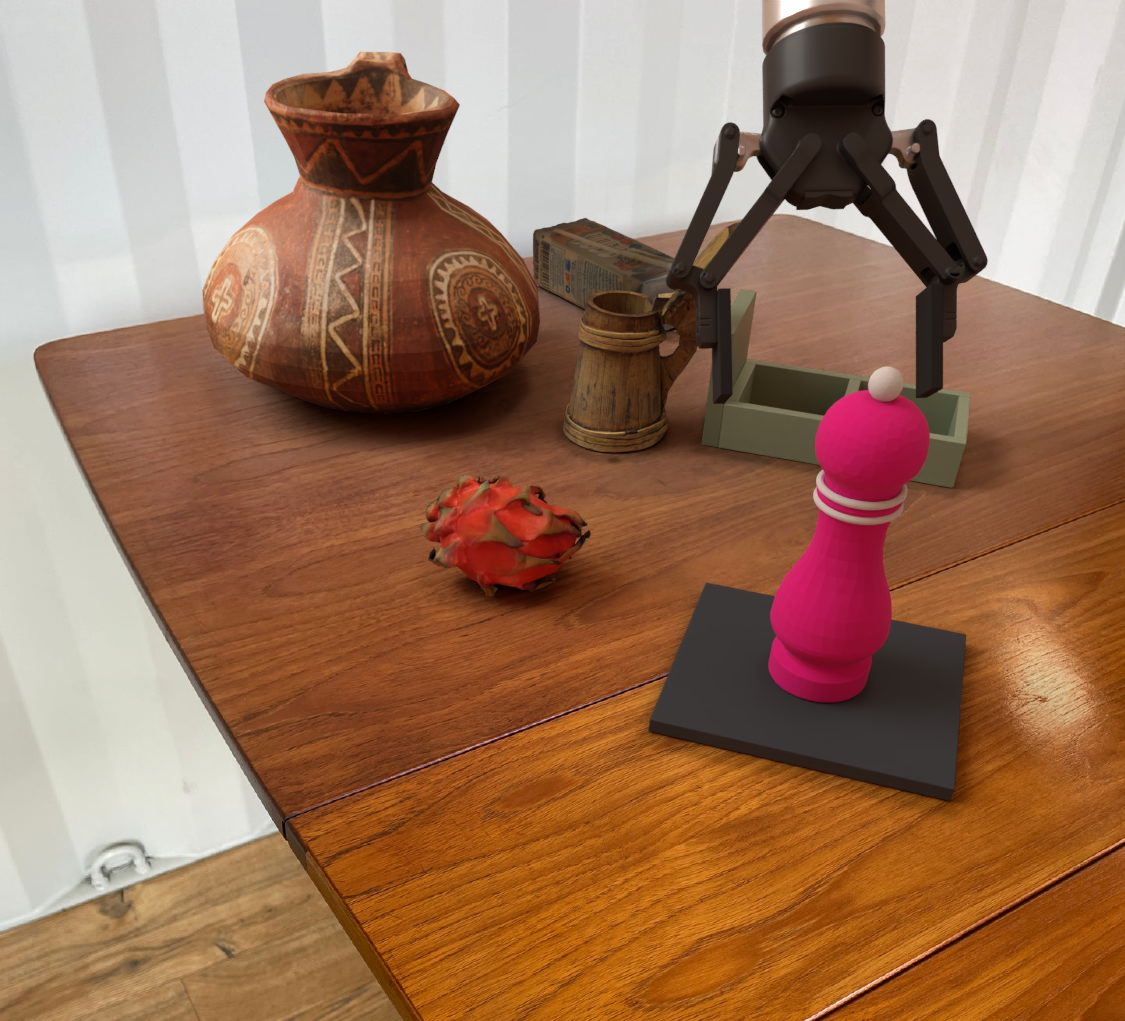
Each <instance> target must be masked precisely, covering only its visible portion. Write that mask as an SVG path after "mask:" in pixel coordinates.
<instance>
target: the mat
mask: <svg viewBox="0 0 1125 1021" xmlns="http://www.w3.org/2000/svg"><path fill="white" fill-rule="evenodd" d="M774 598H775V595H771V594H766V593H763V592H762V593H761V592H756V591H751V590H746V589H741V588H736V587H731V586H726V585H721V584H716V583H711V582H705V584H704V586H703V588H702V590H701V593H700V595H699V599H698V600H697V603H696V606H695V608H694V610H693V613H692V615H691V618H690V620H689V623H688V625H687V628H686V630H685V632H684V635H683V637H682V640H681V642H680V645H679V647H678V650H677V652H676V654H675V657H674V660H673V662H672V664H671V666H670V669H669V671H668V674H667V677H666V679H665V681H664V684H663V685H662V689H661V691H660V693H659V696H658V698H657V701H656V704H655V706H654V708H653V710H652V713H651V715H650V718H649V723H648V732H651V733H655V734H659V735H663V736H667V737H672V738H675V739H681V740H685V741H689V742H692V743H696V744H697V743H698V744H702V745H706V746H711V747H715V748H719V749H724V750H728V751H733V752H736V753H741V754H744V755H750V756H754V757H757V758H763V759H767V760H771V761H775V762H779V763H784V764H787V765H793V766H796V767H801V768H806V769H810V770H814V771H818V772H823V773H827V774H832V775H836V776H839V777H845V778H848V779H853V780H857V781H861V782H866V783H870V784H874V785H879V786H883V787H888V788H891V789H896V790H900V791H904V792H908V793H914V794H917V795H922V796H927V797H930V798H935V799H939V800H943V801H947V802H950V801H951V800H952V798H953V795H954V792H955V790H956V775H957V764H958V749H959V737H960V736H959V735H960V724H961V723H960V722H961V710H962V697H963V695H962V694H963V684H964V683H963V682H964V670H965V659H966V658H965V657H966V656H965V655H966V645H967V644H966V643H967V634H966V633H962V632H956V631H951V630H947V629H941V628H937V627H931V626H926V625H921V624H916V623H911V622H908V621H907V622H906V621H901V620H897V619H892V618H891V624H890V630H889V634H888V637H887V639H886V641H885V642H884V644H883V646H882V647H881V648H880V649H879V650H878V651H876V652H875V653H874V654H872V655H871V656H872V664H871V668H870V671H869V675H868V679H867V682H866V685H865V687H864V689H863V690H862V691H861V692H860V693H859V694H858V695H856V696H854V697H852V698H850V699H848V700H845V701H841V702H834V703H820V702H814V701H808V700H805V699H802V698H799V697H796V696H794V695H792V694H790V693H788V692H786V691H785V690H783V689H782V688H781V687H780V686H779V685H778V684H776V683H775V681H774V679H773V678H772V676H771V674H770V672H769V667H768V664H769V658H770V653H771V648H772V643H773V641H774V639H775V637H776V634H775V632H774V630H773V627H772V624H771V620H770V612H771V608H772V605H773V601H774Z"/></svg>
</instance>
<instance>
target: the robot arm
mask: <svg viewBox="0 0 1125 1021" xmlns="http://www.w3.org/2000/svg"><path fill="white" fill-rule="evenodd" d="M885 31H886V0H761V47H762V52H763V53H764V55H765V57H764V58H763V61H762V64H761V65H762V67H761V68H762V70H761V74H762V75H761V76H762V77H761V78H762V131H761V133H759V132H758V133H757V132H747V131H741V130H740V128H739V125H737V124H736V123H734V122H732V121H731V122H730V121H729V122H727V123H725V124H723V126H722V127H721V129H720V131H719V134H718V136H717V138H716V140H715V143H714V146H713V151H712V164H711V174H710V178H709V180H708V182H707V184H706V187H705V189H704V190H703V193H702V196H701V198H700V200H699V202H698V205H697V207H696V209H695V210H694V214H693V215H692V218H691V221H690V222H689V224H688V227H687V230H686V232H685V234H684V236H683V238H682V239H681V243H680V245H679V247H678V250H677V253H676V254H675V257H673V258H674V261H673V263H672V265H671V267H670V270H669V272H668V274H667V277H666V284H667V286H668V287H669V288H670V289H672V290H678V289H680V290H683V291H686V292H688V293H690V294H691V295H692V298H693V300H694V301H695V323H696V342H697V345H698V347H697V348H698V349H699V350H703V349H704V350H707V349H711V365H712V381H713V404H724V403H725V402H726V401H727V400H728V399H729V398H730V397H731V396H732V395H733V390H732V339H731V304H732V301H731V300H732V295H731V292H732V290H731V287H728V288H726V287H724V288H718V287H719V285H720V284H721V282H722V281H723V280H724V279H725V277H726V276H727V274H728V273H729V272H730V271H731V269H732V268H733V267H734V265H735V264H736V263H737V261H738V260H739V259H740V258H741V257H742V255H743V254H744V252H746V250H747V249H748V247H749V246H750V245H751V244H752V242H753V241H754V240H755V238H757V236H758V234H759V233H760V232H761V230H762V229H764V226H766V224H767V223H768V222H769V220H770V219H771V218H772V217H773V216H774V214H775V213H776V211H777V210H778V209H779V208H780V206H781V205H782V204H783V202H784V201H786V203H788V204H789V205H791V206H792V207H796V208H795V210H796V211H809V210H813V209H816V208H818V207H822V208H826V209H829V210H844V209H845V208H846V207H847V206H849V205H852V204H853V205H854V207H855V208H856V209H857V211H859V213H860V215H862V216H864V217H865V218H869V219H870V220H871V222H872V223H873V224H874V225H875V226H876V228H877V229H878V230H879V231H880V232H881V234H882V235H883V236H884V237H885V239H886V240H887V241H888V242H889V243H890V245H891V246H892V247H893V248H894V250H895V251H896V252H897V253H898V255H899V256H900V257H901V258H902V259H903V261H904V262H905V263H906V265H908V267H909V268H910V269H911V271H912V272H913V273H914V274H915V275H916V276H917V278H918V279H919V280H920V281H921V283H922V284H923V285H924V287H925V288H924V289H923V290H922V291H921V292H919V293H918V294H917V295H915V384H916V398H927V397H929V396H931V395H933V394H934V393H936V392H938V391H940V390H942V389H944V343H947V342H948V341H949V340H951V339H952V338H954V337H955V334H956V332H957V329H958V328H957V326H958V320H957V318H958V286H959V285H961V284H965V283H968V282H969V281H970V280H972V279H973V278H974V277H976V276H977V275H978V274H980V273H981V272H982V271H983V270H985V269H986V268H987V266H988V261H989V259H988V256H987V254H986V252H985V249H984V248H983V245H982V243H981V241H980V239H979V237H978V234H977V232H976V230H975V228H974V226H973V224H972V221H971V220H970V218H969V215H968V213H967V211H966V209H965V207H964V204H963V203H962V200H961V198H960V196H959V194H958V192H957V189H956V188H955V186H954V183H953V181H952V179H951V177H950V174H949V173H948V171H947V168H946V166H945V164H944V161H943V160H942V158H941V156H940V146H939V138H938V129H937V125H936V123H935V122H934V120H932V119H930V118H926V119H922V120H921V121H920V122H919V123H918V124H917V126H916V127H913V128H906V129H899V130H891V128H890V127H889V125H888V122H887V119H886V44H885V41H884V39H883V35H884V33H885ZM888 155H892V156H894V157H895V159H896V160H897V163H898V167H899V168H900V169H902V170H903V169H905V170H906V175H907V178H908V181H909V184H910V186H911V189H912V191H913V193H914V196H915V197H916V199H917V201H918V204H919V206H920V207H921V208H920V209H922V212H923V214H924V216H925V218H926V221H927V222H928V225H929V227H930V229H931V231H930V230H929V228H928V226H926V224H925V223H924V222H923V221H922V219H921V218H920V217H919V216H918V215H917V214H916V213H915V211H914V210H913V209H912V207H911V206H910V205H909V203H907V201H906V200H905V199H904V198H903V196H902V195H901V193H900V192H899V191H898V190H897V184H896V181H895V180H894V179H893V177H892V176H891V174H890V173H889V172H888V171H887V170H886V168H885V167H884V165H883V163H884V161H885V160H886V158H887V157H888ZM753 157H756V160H757V162H758V163H759V165H760V166H761V168H762V169H763V170H764V172H765V173H766V175H767V176H768V178H769V179H770V180H771V181H770V182H769V183H768V184H767V186H766V188H764V190H763V191H762V193H761V194H760V196H759V197H758V199H757V200H756V201H755V202H754V204H752V206H751V207H750V209H749V210H748V211H747V213H746V214H745V215H744V217H743V218H742V219H741V220H740V221H739V222H740V223H739V224H738V226H737V227H736V228H735V230H734V231H733V232H732V234H731V235H730V236H729V237H728V239H727V240H726V241H725V243H724V244H723V245H722V247H721V248H720V249H719V250H718V252H717V253H716V254H715V256H714V257H713V258H712V260H711V261H710V262H709V263H708V265H707V266H706V267H705V269H703V268H700V267H697V266H694V265H693V263H694V262H695V260H696V259H697V257H698V254H699V252H700V249H701V247H702V245H703V243H704V241H705V238H706V236H707V234H708V231H709V229H710V227H711V225H712V223H713V220H714V218H715V216H716V213H717V211H718V210H719V207H720V205H721V202H722V200H723V198H724V195H725V193H726V192H727V190H728V187H729V186H730V182H731V180H732V178H733V175H734V173H739V172H742V171H743V170H744V168H745V167H746V165H747V163H748V160H749V159H750V158H753Z"/></svg>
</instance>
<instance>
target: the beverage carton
mask: <svg viewBox="0 0 1125 1021" xmlns="http://www.w3.org/2000/svg"><path fill="white" fill-rule="evenodd" d="M532 257H533V258H532V265H533V279H534V281H535V283H536V285H537V286H539V287H541V288H542V289H544V290H547V291H548V292H550V293H553V294H554V295H555V296H558V297H561V298H563V299H564V300H566V301H569V302H570V303H572V304H574V305H575V306H577V307H579V308H581V309H583V310H585V307H586V302H587V299H588V297H589V296H590V295H593V294H595V293H598V292H602V291H608V290H621V291H631V292H637V293H640V294H644V295H646V296H648V297H650V298H651V299H652V300H654V298H655V296H656V295H657V294H666V293H674V292H675V291H676V290H672V289H670V288H669V287H668V286H667V284H666V277H667V274H668V272H669V270H670V267H671V265H672V263H673V261H674V258H675V257H673V256H671V255H669V254H667V253H665V252H662V251H660V250H658V249H657V248H654V247H652V246H649V245H647V244H645V243H643V242H641V241H639V240H636V239H635V238H632V237H630V236H627V235H625V234H623V233H621V232H618V231H616V230H614V229H612V228H609V227H608V226H605V225H603V224H601V223H598V222H596V220H591V219H588V217H583V218H580V219H577V220H574V221H569V222H560V223H557V224H555V225H552V226H548V227H542V228H537V229H534V231H533V232H532ZM663 326H664V329H665V332H666V331H669V330H671V329H675V328H674V327H673V326H671V325H663Z"/></svg>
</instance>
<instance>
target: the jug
mask: <svg viewBox="0 0 1125 1021" xmlns="http://www.w3.org/2000/svg"><path fill="white" fill-rule="evenodd" d="M263 103H264V104H265V105H266V108H267V110H268V112H269V113H270V115H271V116H272V118H273V120H274V123H275V124H276V126H277V128H278V130H279V131H280V133H281V135H282V137H283V138H284V140H285V142H286V144H287V146H288V148H289V150H290V152H291V154H292V156H293V158H294V161H295V164H296V168H297V171H298V174H299V176H298V178H297V181H296V183H295V186H294V188H293V190H292V191H291V192H289V193H287V194H285V195H284V196H282V197H280V198H278V199H277V200H275V201H273V202H272V203H270V204H269V205H267V206H266V207H264V208H263V209H261V210H260V211H258V212H257V213H256V214H255V215H254V216H253V217H251V219H249V220H248V221H247V222H246V223H245V224H244V225H243V226H241V227H240V228H239V229H237V231H235V233H234V234H232V236H231V237H230V239H229V240H228V241H227V243H226V244H225V245H224V247H223V248H222V250H221V251H220V253H218V255H217V257H216V258H215V259H214V261H213V262H212V265H211V268H210V270H209V272H208V275H207V277H206V280H205V283H204V285H203V289H202V290H201V291H202V292H201V293H202V310H203V315H204V320H205V327H206V330H207V333H208V336H209V338H210V341H211V343H212V346H213V348H214V350H216V351H217V352H218V353H219V354H220V355H221V356H222V357H223V358H224V359H226V360H227V362H229V363H230V364H231V365H232V366H233V367H234V368H236V369H237V371H239V372H240V373H241V374H242V375H244V376H245V377H246V378H247V379H250V380H252V381H255V382H257V383H260V384H263V385H264V386H267V387H270V388H272V389H274V390H277V391H279V392H282V393H284V394H288V395H290V396H291V397H292V396H293V397H294V398H297V399H299V400H302V401H305V402H308V403H311V404H314V405H317V406H320V407H323V408H325V409H331V410H338V411H342V412H348V413H349V412H350V413H360V414H376V415H377V414H378V415H386V414H404V413H405V414H406V413H407V414H409V413H417V412H421V411H425V410H430V409H433V408H437V407H442V406H445V405H448V404H450V403H453V402H455V401H457V400H459V399H461V398H463V397H466V396H467V395H470V394H472V393H474V392H476V391H479V390H481V389H482V388H484V387H486V386H488V385H490V384H492V383H493V382H495V381H498V380H500V379H502V378H504V377H506V376H508V375H509V374H510V373H511V372H512V371H513V370H514V369H515V367H516V366H517V365H518V364H519V363H520V362H521V360H522V359H523V358H524V357H525V356H526V355H527V354H528V353H529V351H530V350H531V349H532V347H534V345H535V344H536V343H537V342H538V336H539V330H540V326H541V317H540V316H541V315H540V300H539V292H538V285H537V284H536V283H535V281H534V276H532V273H531V272H530V270H529V268H528V266H527V264H526V262H525V261H524V259H523V257H522V256H521V254H519V252H517V250H516V249H515V248H514V247H513V245H512V244H511V243H510V242H509V241H508V240H507V238H506V237H505V236H504V235H503V233H502V232H501V231H500V230H499V229H497V227H496V226H494V225H493V223H492V222H490V220H488V218H486V217H485V216H483V215H482V214H480V213H479V212H478V211H476V210H475V209H474V208H472V207H470V206H469V205H467V204H465V203H464V202H462V201H460V200H458V199H456V198H454V197H453V196H451V195H449V194H448V193H446V192H444V191H442V190H441V189H440V188H439V187H438V186H437V185H436V184H435V183H433V179H434V175H435V170H436V166H437V163H438V159H439V157H440V155H441V152H442V148H443V146H444V145H445V142H446V139H447V136H448V133H449V131H450V129H451V127H452V124H453V122H454V120H455V118H456V115H457V113H458V110H459V109H460V106H461V104H460V103H459V101H457V99H456V98H455V97H454V96H453V95H451V94H450V93H448V92H447V91H446V90H444V89H442V88H439V87H436V86H434V85H433V84H432V85H431V84H429V83H427V82H423V81H421V80H418V79H414V78H412V77H411V75H410V73H409V70H408V66H407V61H406V58H405V57H404V56H403V54H402V53H401V52H391V51H359V52H358V54H357V55H356V56H355V57H354V58H353V60H352V61H351V62H350V63H349V64H348V65H347V66H346V67H344V68H340V69H336V70H332V71H325V72H324V71H323V72H310V73H301V74H297V75H294V76H290V77H286V78H283V79H281V80H279V81H276V82H274V83H272V84H271V85H270V87H269V88H268V89H267V90H266V91H265V94H264V100H263Z"/></svg>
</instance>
